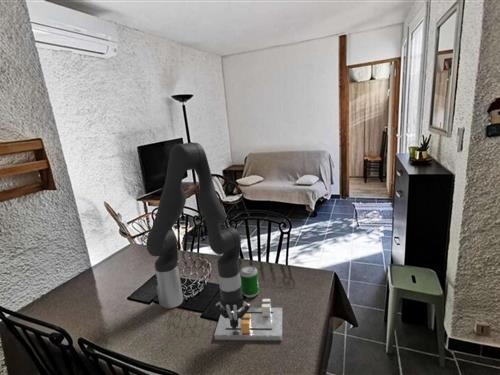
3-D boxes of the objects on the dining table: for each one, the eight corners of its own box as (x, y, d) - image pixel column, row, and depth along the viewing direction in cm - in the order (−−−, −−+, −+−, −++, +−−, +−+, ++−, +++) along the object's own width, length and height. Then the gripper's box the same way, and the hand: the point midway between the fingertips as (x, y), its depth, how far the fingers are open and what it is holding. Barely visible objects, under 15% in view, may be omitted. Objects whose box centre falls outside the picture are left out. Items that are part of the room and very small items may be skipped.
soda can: (257, 299, 126) (255, 274, 123) (240, 298, 128) (238, 273, 125) (260, 288, 133) (258, 265, 130) (244, 288, 135) (242, 264, 132)
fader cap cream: (262, 316, 112) (261, 306, 111) (263, 307, 117) (262, 297, 116) (270, 316, 111) (269, 306, 110) (271, 307, 116) (270, 297, 115)
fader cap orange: (241, 333, 104) (240, 322, 103) (243, 323, 109) (242, 313, 108) (250, 333, 104) (249, 322, 103) (251, 323, 108) (250, 313, 107)
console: (214, 341, 105) (213, 336, 104) (223, 311, 120) (222, 307, 119) (282, 342, 102) (281, 337, 101) (282, 312, 117) (282, 307, 116)
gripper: (209, 290, 100) (214, 334, 104) (247, 290, 98) (251, 334, 102) (214, 278, 107) (219, 319, 111) (250, 278, 105) (254, 319, 109)
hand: (235, 326), depth 106 cm, fingers closed
